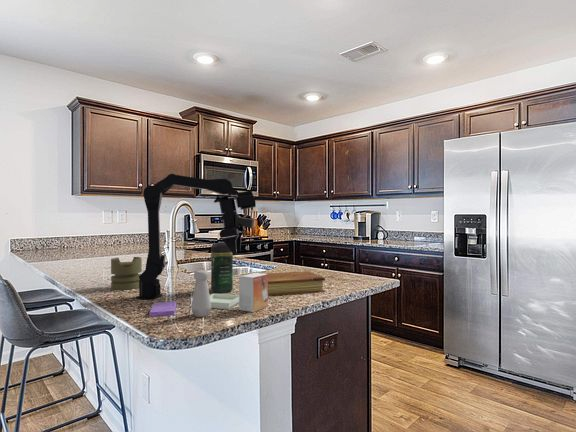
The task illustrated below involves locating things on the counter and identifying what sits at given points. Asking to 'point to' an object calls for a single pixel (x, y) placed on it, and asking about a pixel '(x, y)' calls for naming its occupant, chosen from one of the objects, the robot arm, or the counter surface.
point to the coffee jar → (221, 268)
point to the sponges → (163, 309)
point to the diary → (294, 283)
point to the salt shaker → (201, 294)
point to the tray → (223, 301)
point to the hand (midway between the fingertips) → (237, 252)
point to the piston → (125, 274)
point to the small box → (253, 292)
